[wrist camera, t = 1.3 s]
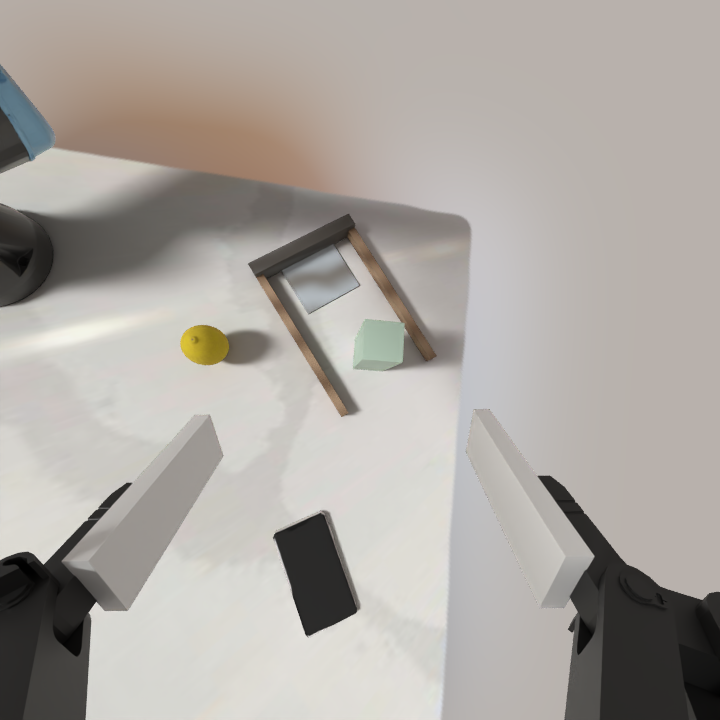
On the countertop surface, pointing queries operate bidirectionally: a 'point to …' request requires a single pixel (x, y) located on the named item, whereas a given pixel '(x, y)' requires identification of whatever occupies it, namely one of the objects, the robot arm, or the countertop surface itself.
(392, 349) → the block
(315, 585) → the smartphone
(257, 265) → the track
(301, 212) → the countertop surface
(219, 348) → the lemon
